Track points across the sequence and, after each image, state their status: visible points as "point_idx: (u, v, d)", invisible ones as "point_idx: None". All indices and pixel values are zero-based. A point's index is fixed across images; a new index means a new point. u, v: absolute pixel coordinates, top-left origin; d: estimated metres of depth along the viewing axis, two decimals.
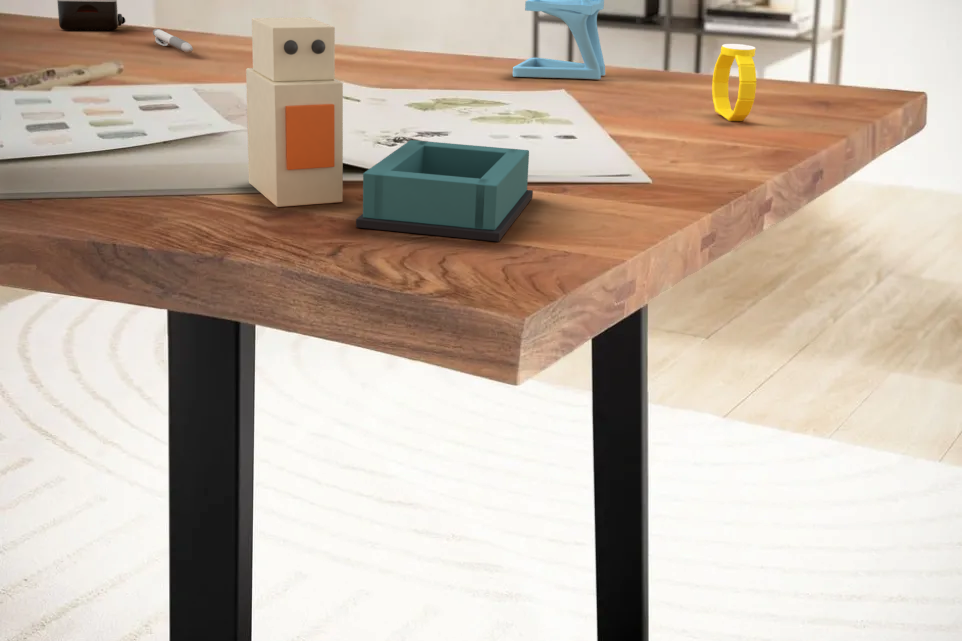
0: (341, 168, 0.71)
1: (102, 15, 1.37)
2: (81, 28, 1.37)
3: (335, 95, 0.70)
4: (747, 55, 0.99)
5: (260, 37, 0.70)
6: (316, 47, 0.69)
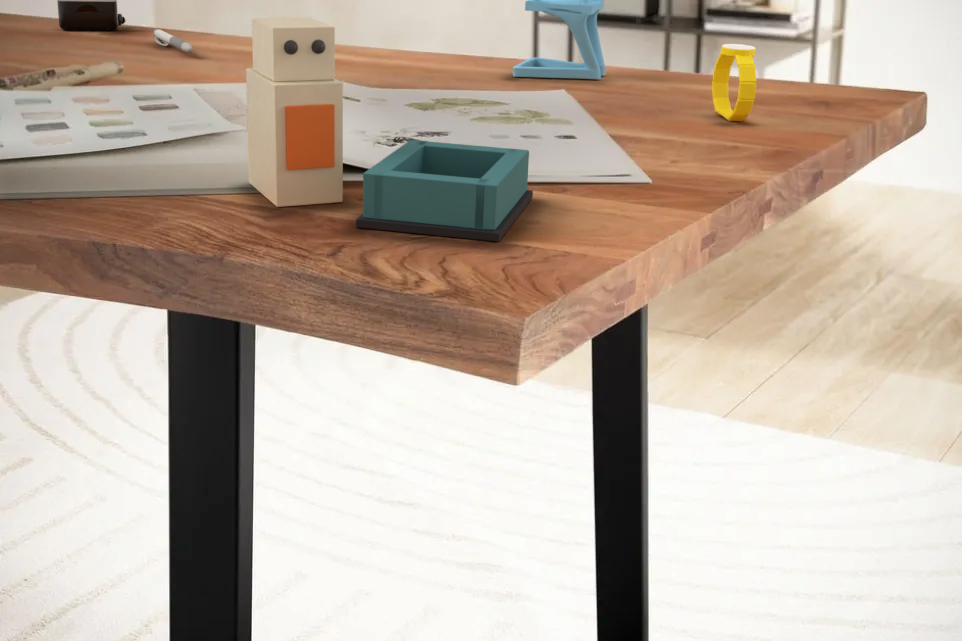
0: (341, 168, 0.71)
1: (102, 15, 1.37)
2: (81, 28, 1.37)
3: (335, 95, 0.70)
4: (747, 55, 0.99)
5: (260, 37, 0.70)
6: (316, 47, 0.69)
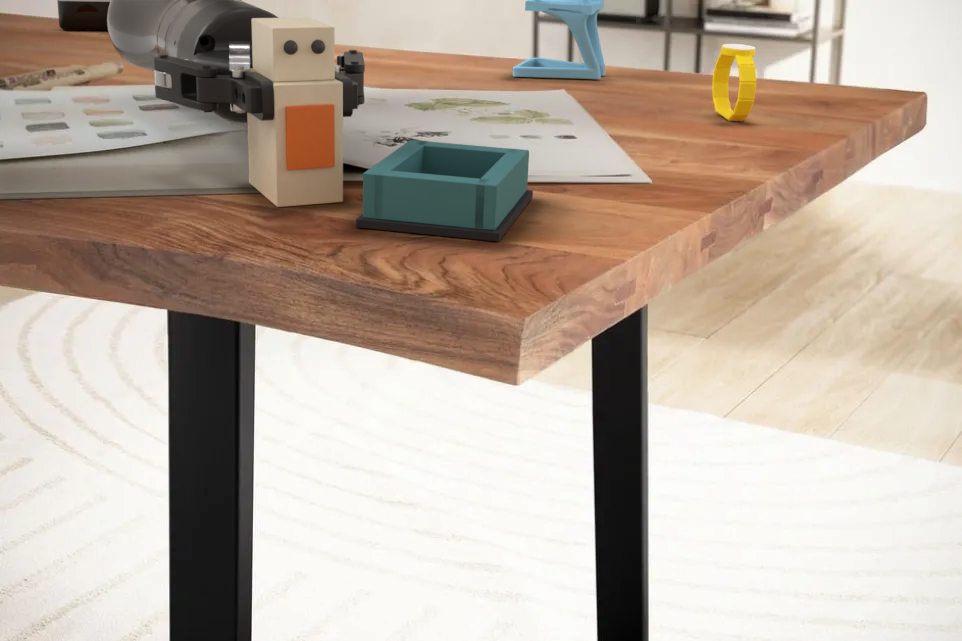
0: (341, 168, 0.71)
1: (102, 15, 1.37)
2: (81, 28, 1.37)
3: (335, 95, 0.70)
4: (747, 55, 0.99)
5: (260, 37, 0.70)
6: (316, 47, 0.69)
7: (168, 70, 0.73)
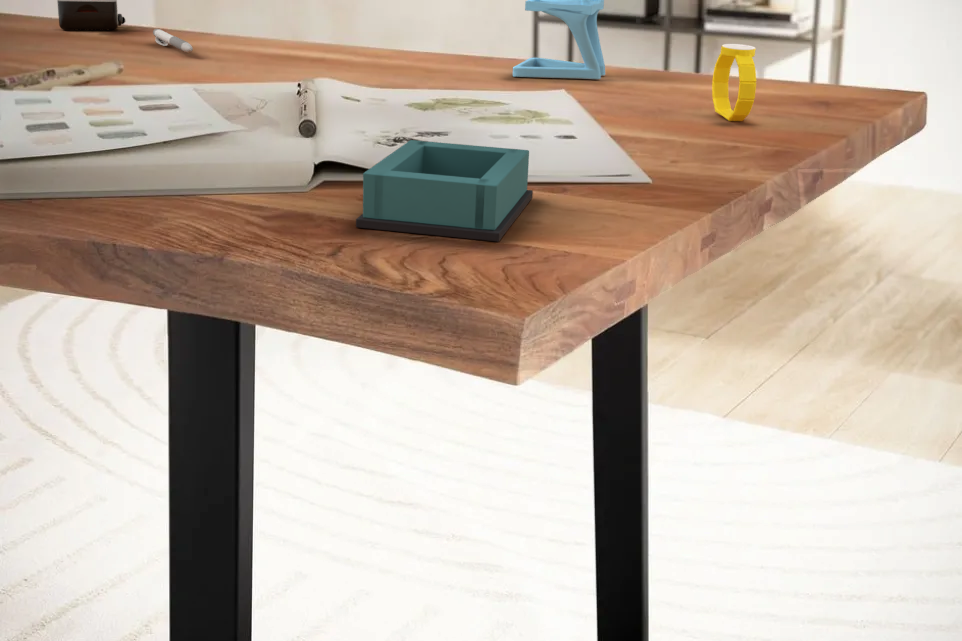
0: None
1: (102, 15, 1.37)
2: (81, 28, 1.37)
3: None
4: (747, 55, 0.99)
5: None
6: None
7: None
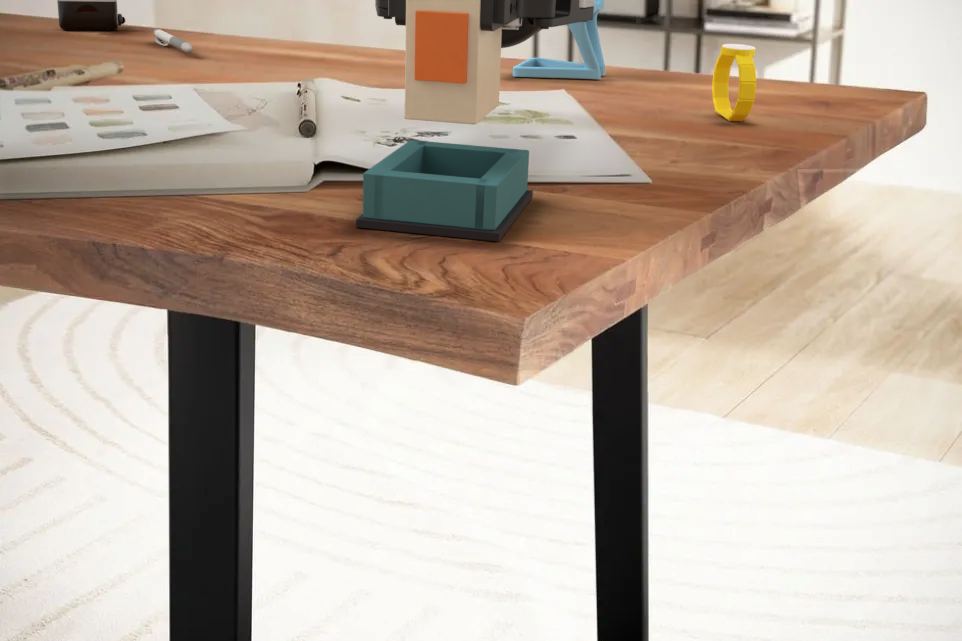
0: (475, 86, 0.65)
1: (102, 15, 1.37)
2: (81, 28, 1.37)
3: (471, 4, 0.64)
4: (747, 55, 0.99)
5: None
6: None
7: None
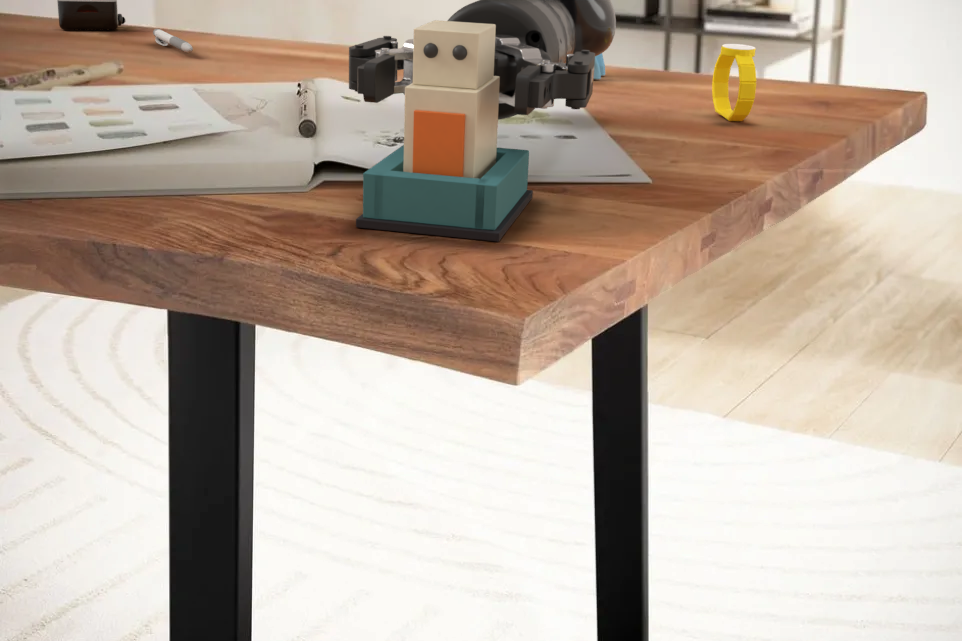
0: None
1: (102, 15, 1.37)
2: (81, 28, 1.37)
3: (468, 105, 0.65)
4: (747, 55, 0.99)
5: None
6: (454, 53, 0.65)
7: None
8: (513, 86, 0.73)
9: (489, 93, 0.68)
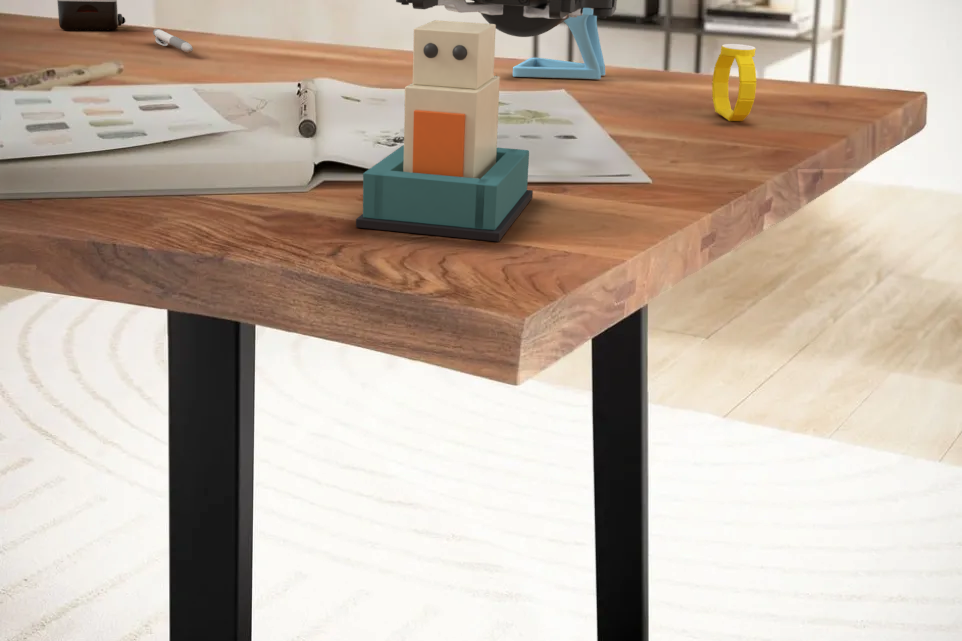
0: None
1: (102, 15, 1.37)
2: (81, 28, 1.37)
3: (468, 105, 0.65)
4: (747, 55, 0.99)
5: None
6: (454, 53, 0.65)
7: None
8: (545, 0, 0.80)
9: (489, 93, 0.68)
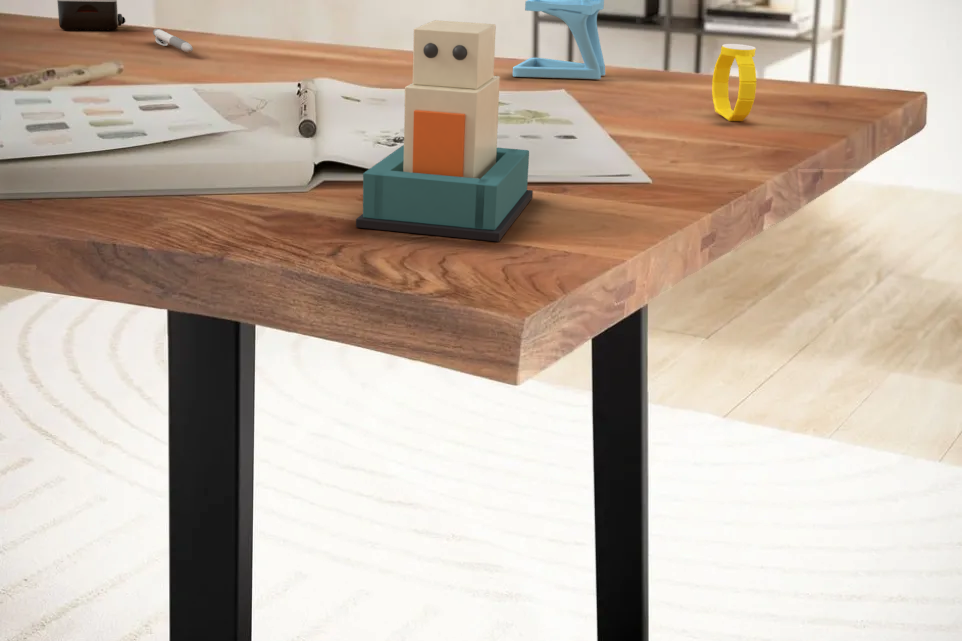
0: None
1: (102, 15, 1.37)
2: (81, 28, 1.37)
3: (468, 105, 0.65)
4: (747, 55, 0.99)
5: None
6: (454, 53, 0.65)
7: None
8: None
9: (489, 93, 0.68)
